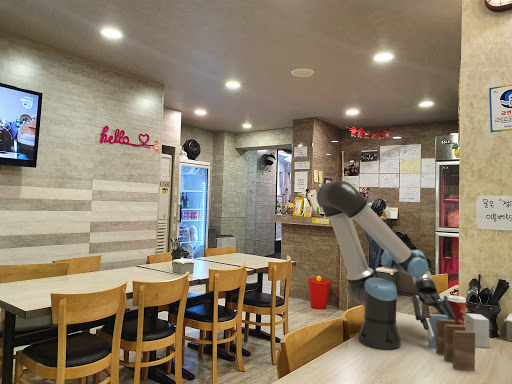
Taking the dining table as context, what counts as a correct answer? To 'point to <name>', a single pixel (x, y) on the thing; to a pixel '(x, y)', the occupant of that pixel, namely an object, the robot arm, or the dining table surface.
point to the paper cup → (458, 308)
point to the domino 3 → (464, 350)
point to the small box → (478, 329)
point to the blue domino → (434, 327)
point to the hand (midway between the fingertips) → (442, 338)
